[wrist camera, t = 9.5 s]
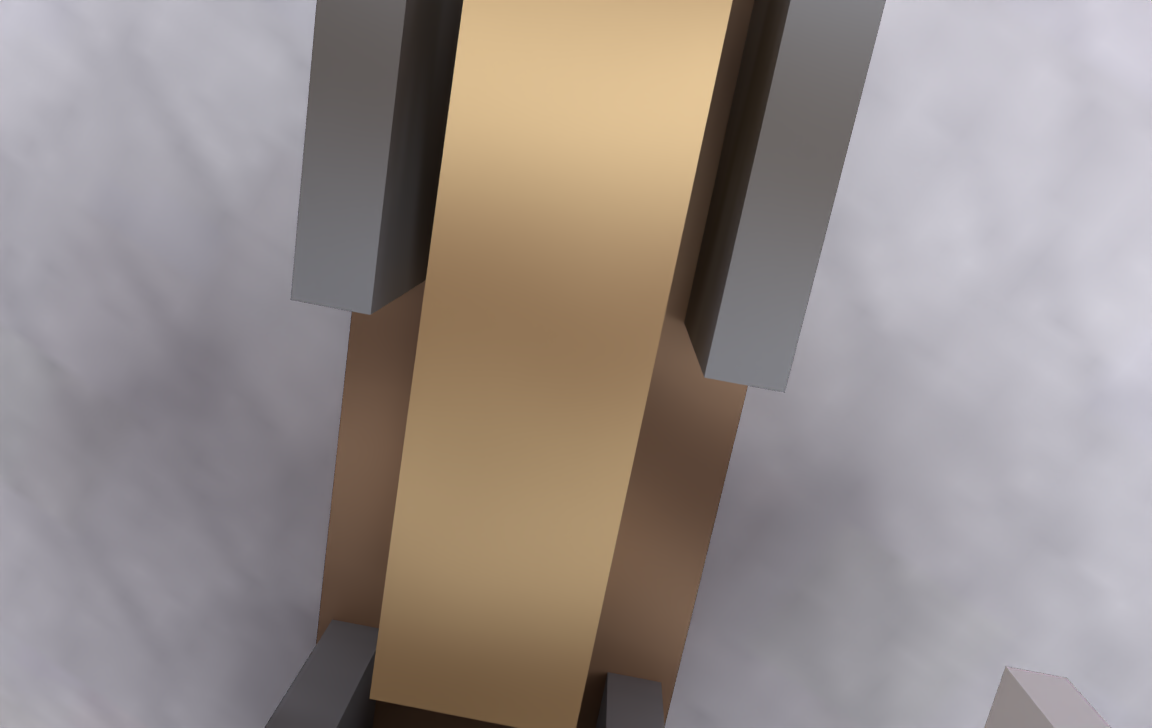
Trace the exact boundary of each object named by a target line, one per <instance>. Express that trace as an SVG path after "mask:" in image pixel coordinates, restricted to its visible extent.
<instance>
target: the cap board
mask: <svg viewBox="0 0 1152 728" xmlns="http://www.w3.org/2000/svg"><path fill="white" fill-rule="evenodd" d="M885 2H886V0H733V1H732V6H731V10H730V15H729V20H728V24H727V29H726V34H725V38H724V43H723V48H722V52H721V57H720V61H719V66H718V71H717V75H716V80H715V85H714V89H713V94H712V99H711V103H710V108H709V113H708V117H707V122H706V126H705V131H704V136H703V140H702V145H701V150H700V154H699V159H698V164H697V168H696V173H695V178H694V182H693V187H692V192H691V196H690V201H689V205H688V210H687V215H686V219H685V224H684V229H683V233H682V238H681V243H680V247H679V252H678V257H677V261H676V266H675V270H674V275H673V280H672V284H671V289H670V294H669V298H668V303H667V308H666V312H665V317H664V322H663V326H662V331H661V335H660V340H659V345H658V349H657V354H656V359H655V363H654V368H653V373H652V377H651V382H650V387H649V391H648V396H647V401H646V405H645V410H644V414H643V419H642V424H641V428H640V433H639V438H638V442H637V447H636V452H635V456H634V461H633V466H632V470H631V475H630V479H629V484H628V489H627V493H626V498H625V503H624V507H623V512H622V517H621V521H620V526H619V531H618V535H617V540H616V544H615V549H614V554H613V558H612V563H611V568H610V572H609V577H608V582H607V586H606V591H605V596H604V600H603V605H602V610H601V614H600V619H599V623H598V628H597V633H596V637H595V642H594V647H593V651H592V656H591V661H590V665H589V670H588V675H587V679H586V684H585V688H584V693H583V698H582V702H581V707H580V712H579V716H578V721H577V726H576V728H665V722H666V718H667V714H668V710H669V706H670V702H671V698H672V694H673V690H674V686H675V682H676V677H677V673H678V669H679V665H680V661H681V657H682V653H683V649H684V645H685V641H686V637H687V632H688V628H689V624H690V620H691V616H692V612H693V608H694V604H695V600H696V596H697V592H698V588H699V583H700V579H701V575H702V571H703V567H704V563H705V559H706V555H707V551H708V547H709V543H710V538H711V534H712V530H713V526H714V522H715V518H716V514H717V510H718V506H719V502H720V498H721V494H722V489H723V485H724V481H725V477H726V473H727V469H728V465H729V461H730V457H731V453H732V449H733V444H734V440H735V436H736V432H737V428H738V424H739V420H740V416H741V412H742V408H743V404H744V400H745V395H746V391H747V387H748V386H752V387H758V388H763V389H768V390H774V391H779V392H784V393H785V390H786V386H787V382H788V378H789V374H790V370H791V366H792V362H793V359H794V355H795V351H796V347H797V343H798V339H799V335H800V331H801V328H802V324H803V320H804V316H805V312H806V308H807V304H808V300H809V296H810V293H811V289H812V285H813V281H814V277H815V273H816V269H817V265H818V262H819V258H820V254H821V250H822V246H823V242H824V238H825V234H826V231H827V227H828V223H829V219H830V215H831V211H832V207H833V203H834V199H835V196H836V192H837V188H838V184H839V180H840V176H841V172H842V168H843V165H844V161H845V157H846V153H847V149H848V145H849V141H850V137H851V134H852V130H853V126H854V122H855V118H856V114H857V110H858V106H859V102H860V99H861V95H862V91H863V87H864V83H865V79H866V75H867V71H868V68H869V64H870V60H871V56H872V52H873V48H874V44H875V40H876V37H877V33H878V29H879V25H880V21H881V17H882V13H883V9H884V5H885ZM462 7H463V0H317V4H316V16H315V27H314V39H313V50H312V62H311V73H310V84H309V96H308V107H307V119H306V130H305V142H304V153H303V165H302V176H301V188H300V199H299V211H298V222H297V234H296V245H295V256H294V268H293V279H292V291H291V300H294V301H299V302H304V303H310V304H315V305H320V306H326V307H331V308H336V309H342V310H347V311H352V316H351V325H350V334H349V344H348V353H347V362H346V371H345V381H344V390H343V399H342V409H341V418H340V427H339V436H338V446H337V455H336V464H335V473H334V483H333V492H332V501H331V511H330V520H329V529H328V538H327V548H326V557H325V566H324V576H323V585H322V594H321V603H320V613H319V622H318V631H317V640H316V646H315V648H314V650H313V651H312V653H311V654H310V656H309V658H308V659H307V661H306V662H305V664H304V666H303V667H302V669H301V670H300V672H299V674H298V675H297V677H296V678H295V680H294V682H293V683H292V685H291V686H290V688H289V690H288V691H287V693H286V694H285V696H284V698H283V699H282V701H281V702H280V704H279V706H278V707H277V709H276V710H275V712H274V714H273V715H272V717H271V718H270V720H269V721H268V723H267V725H266V726H265V728H517V727H512V726H507V725H501V724H496V723H491V722H486V721H481V720H476V719H471V718H466V717H460V716H455V715H450V714H445V713H440V712H435V711H430V710H425V709H419V708H414V707H409V706H404V705H399V704H394V703H389V702H384V701H379V700H373V699H369V698H370V691H371V684H372V676H373V669H374V661H375V654H376V646H377V639H378V631H379V624H380V617H381V609H382V602H383V594H384V587H385V579H386V572H387V565H388V557H389V550H390V542H391V535H392V527H393V520H394V513H395V505H396V498H397V490H398V483H399V475H400V468H401V461H402V453H403V446H404V438H405V431H406V423H407V416H408V409H409V401H410V394H411V386H412V379H413V371H414V364H415V357H416V349H417V342H418V334H419V327H420V319H421V312H422V304H423V297H424V290H425V282H426V275H427V267H428V260H429V252H430V245H431V238H432V230H433V223H434V215H435V208H436V200H437V193H438V186H439V178H440V171H441V163H442V156H443V148H444V141H445V134H446V126H447V119H448V111H449V104H450V96H451V89H452V82H453V74H454V67H455V59H456V52H457V44H458V37H459V30H460V22H461V15H462Z"/></svg>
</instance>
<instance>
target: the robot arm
mask: <svg viewBox="0 0 1152 728" xmlns="http://www.w3.org/2000/svg"><path fill="white" fill-rule="evenodd" d="M985 728H1111V727H1110V726H1109V725H1108V724H1107V722H1106V721H1105V720H1104V719H1103V718H1102V717H1101V716H1100V715H1099V713H1098V712H1097V711H1096V710H1095V709H1094V708H1093V707H1092V706H1091V705H1090V703H1089V702H1088V701H1087V700H1086V699H1085V698H1084V697H1083V696H1082V694H1081V693H1080V692H1079V691H1078V690H1077V689H1076V688H1075V687H1074V686H1073V684H1072V683H1071V682H1070V681H1069V680H1068V679H1067V678H1064V677H1059V676H1054V675H1049V674H1043V673H1038V672H1033V671H1028V670H1022V669H1017V668H1012V667H1007V666H1006V667H1005V670H1004V673H1003V676H1002V678H1001V681H1000V684H999V687H998V690H997V693H996V696H995V699H994V702H993V704H992V707H991V710H990V713H989V716H988V719H987V722H986V725H985Z"/></svg>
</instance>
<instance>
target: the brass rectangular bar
mask: <svg viewBox="0 0 1152 728" xmlns="http://www.w3.org/2000/svg"><path fill="white" fill-rule="evenodd" d="M732 1H733V0H463V7H462V15H461V22H460V30H459V37H458V44H457V52H456V59H455V67H454V74H453V82H452V89H451V96H450V104H449V111H448V119H447V126H446V134H445V141H444V148H443V156H442V163H441V171H440V178H439V186H438V193H437V200H436V208H435V215H434V223H433V230H432V238H431V245H430V252H429V260H428V267H427V275H426V282H425V290H424V297H423V304H422V312H421V319H420V327H419V334H418V342H417V349H416V357H415V364H414V371H413V379H412V386H411V394H410V401H409V409H408V416H407V423H406V431H405V438H404V446H403V453H402V461H401V468H400V475H399V483H398V490H397V498H396V505H395V513H394V520H393V527H392V535H391V542H390V550H389V557H388V565H387V572H386V579H385V587H384V594H383V602H382V609H381V617H380V624H379V631H378V639H377V646H376V654H375V661H374V669H373V676H372V684H371V691H370V698H369V699H373V700H379V701H384V702H389V703H394V704H399V705H404V706H409V707H414V708H419V709H425V710H430V711H435V712H440V713H445V714H450V715H455V716H460V717H466V718H471V719H476V720H481V721H486V722H491V723H496V724H501V725H507V726H512V727H517V728H576V726H577V721H578V716H579V712H580V707H581V702H582V698H583V693H584V688H585V684H586V679H587V675H588V670H589V665H590V661H591V656H592V651H593V647H594V642H595V637H596V633H597V628H598V623H599V619H600V614H601V610H602V605H603V600H604V596H605V591H606V586H607V582H608V577H609V572H610V568H611V563H612V558H613V554H614V549H615V544H616V540H617V535H618V531H619V526H620V521H621V517H622V512H623V507H624V503H625V498H626V493H627V489H628V484H629V479H630V475H631V470H632V466H633V461H634V456H635V452H636V447H637V442H638V438H639V433H640V428H641V424H642V419H643V414H644V410H645V405H646V401H647V396H648V391H649V387H650V382H651V377H652V373H653V368H654V363H655V359H656V354H657V349H658V345H659V340H660V335H661V331H662V326H663V322H664V317H665V312H666V308H667V303H668V298H669V294H670V289H671V284H672V280H673V275H674V270H675V266H676V261H677V257H678V252H679V247H680V243H681V238H682V233H683V229H684V224H685V219H686V215H687V210H688V205H689V201H690V196H691V192H692V187H693V182H694V178H695V173H696V168H697V164H698V159H699V154H700V150H701V145H702V140H703V136H704V131H705V126H706V122H707V117H708V113H709V108H710V103H711V99H712V94H713V89H714V85H715V80H716V75H717V71H718V66H719V61H720V57H721V52H722V48H723V43H724V38H725V34H726V29H727V24H728V20H729V15H730V10H731V6H732Z"/></svg>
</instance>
